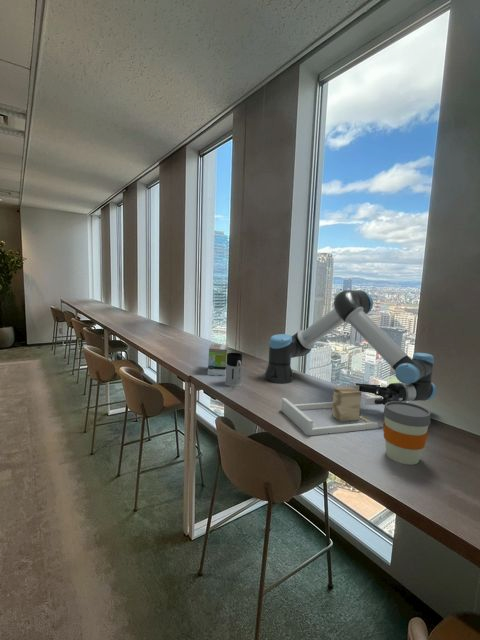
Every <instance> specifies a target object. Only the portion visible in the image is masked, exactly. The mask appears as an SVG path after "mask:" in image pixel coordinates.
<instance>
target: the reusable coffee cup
mask: <svg viewBox="0 0 480 640" xmlns="http://www.w3.org/2000/svg"><path fill="white" fill-rule="evenodd" d="M383 408H384V409H383V413H382V414H383V416H384V420H383V422H382V424H383V428H382V429H383V438H384V440H385V454H386V456H387V457H388V458H389V459H391V460H392V461H394V462H396V463H400V464H403V465H409V466H410V465H417V464H419V461H420V459H421V454H422V451H423V449H424V448H425V446H426V443H427V440H428V436H429V430H428V428H429V426H430V424H431V411H430V410H429V409H427V408H425V407H423V406H421V405H419V404H415V403H411V402H408V401H406V402H400V401H391V402H387V403H386V404H385V405H384V407H383Z"/></svg>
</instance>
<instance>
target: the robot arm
mask: <svg viewBox="0 0 480 640" xmlns="http://www.w3.org/2000/svg"><path fill="white" fill-rule="evenodd" d="M373 300H374V299H373V297H372V296H371V294H370V293H369V292H367V291H365V290H360V289H357V290H356V289H355V290H354V289H352V290H350V289H346V290H342V291H340V292H338V293H337V294H336V296H335V297H334V300H333V308H332V309H331V310H330V311H328V312H327V313H326V314H324V315H322V317H320V318H319V319H318V320H316V321H315V322H313V323H312V324H311V325H310V326H309V327H307V328H306V329H305V330H303V329H300V330H298V331H297V332H296V333H294V334H292V335H290V334H287V333H280V334H279V333H278V334H273V335H272V336H271V337H269V344H268V363H267V367H266V369H265V372H264V377H263V378H264V380H266V382H267V381H268V382H271V383H275V384H288V383H291V382H293V381H294V374H293V371H292V367H291V365H292V364H291V363H292V361H291V360H292V358H296V357H297V358H298V357H304V356H306V355H308V354H309V353H310V352H311V351H312V349H313V348H315V347H314V346H315V344H316V343H317V342H318V341H320V340H321V339H323V338H324V337H325V336H327V335H329V334H330V333H331V332H333V331H335V330H336V329H337V328H338V327H340V326H342V325H343V324H344V323H345V324H350V325H351V326H352V328H354V330H356V332H357V333H358V334H359V335H360V336H361V337H362V338H363V339H364V340H365V341H366V342H367V344H369V345H370V347H372V348H373V350H375V352H376V353H377V354H378V355H379V356H380V357H381V358H382V359H384V361H385V362H386V363H387V364H388V365H389V366H390V367H391V368H392V369H393V370H394V371H395V372H394V374H395V377H396V379H397V381H398V382H393V383H389V384H388V385H387V386H381V385H380V384H370V383H359V382H355V384H354V385H344V386H343V387H353V388H355V389H357V390H359V391H361V393H362V392H363V393H368V394H374V396H372V397H370V396H369V397H366V398H365V406H380V405H383V406H385V404H386V403H387V402H391V401H400V402H416V401H417V402H420V401H421V402H423V401H424V402H426V401H429V400H433V399H435V398H436V397H437V395H438V389H437V387H436V385H435V384H434V383H433V382H432V377H433V372H434V371H433V369H434V365H435V363H434V361H435V360H434V359H435V357H434V356H433V354H430V353H424V352H415V353H413V355H412V358H411V357H410V356H409V355H408V353H406V352H405V351H404V350H403V349H402V348H401V347H400V346H399V345H398V344H397V343H396V342H395V341H394V340H393V339H392V338H391V337H390V336H389V335H388V334H387V333H386V332H385V331H384V330H383V329H382V328H381V327H379V326H378V324H377V323H375V321H373V319H371V318H370V317H369V315H367V314H369V313H370V312H371V311H372V309H373V307H374V301H373Z"/></svg>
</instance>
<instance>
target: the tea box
mask: <svg viewBox="0 0 480 640" xmlns="http://www.w3.org/2000/svg"><path fill="white" fill-rule="evenodd" d="M228 353H229V344H226V343H225V344H224V343H223V344H222V343H211V345H210V346H209V349H208V361H207V376H218V375H222V376H223V377H226V363H227V354H228Z"/></svg>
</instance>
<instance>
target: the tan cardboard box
mask: <svg viewBox="0 0 480 640" xmlns="http://www.w3.org/2000/svg"><path fill="white" fill-rule="evenodd" d="M361 401H362V392H361V391H359V390H357V389H355V388H353V387H344V386H343V387H341V386H340V387H334V388H333V397H332V402H333V407H332V408H331V409H332V410H331V415H333V416H332V417H334V418H336V420H338V421H340V422H349V421H348V420H351V421H357V420H356V419H359V420H360V418H359V414H360V412H361Z"/></svg>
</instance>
